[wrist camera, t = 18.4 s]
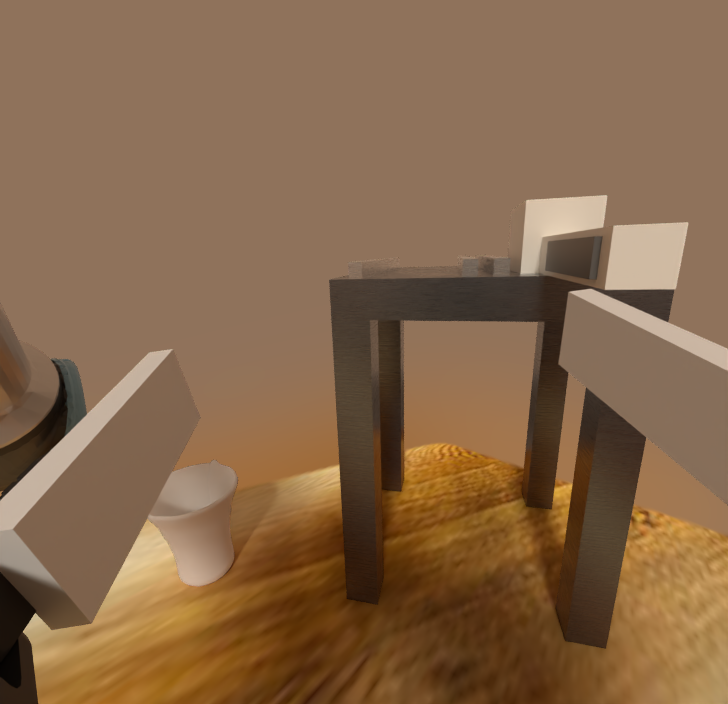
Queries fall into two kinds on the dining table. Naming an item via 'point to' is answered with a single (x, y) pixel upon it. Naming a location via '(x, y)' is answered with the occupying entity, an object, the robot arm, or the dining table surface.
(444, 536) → the dining table surface
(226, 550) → the cup
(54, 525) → the robot arm
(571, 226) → the bar
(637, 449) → the rail stand
